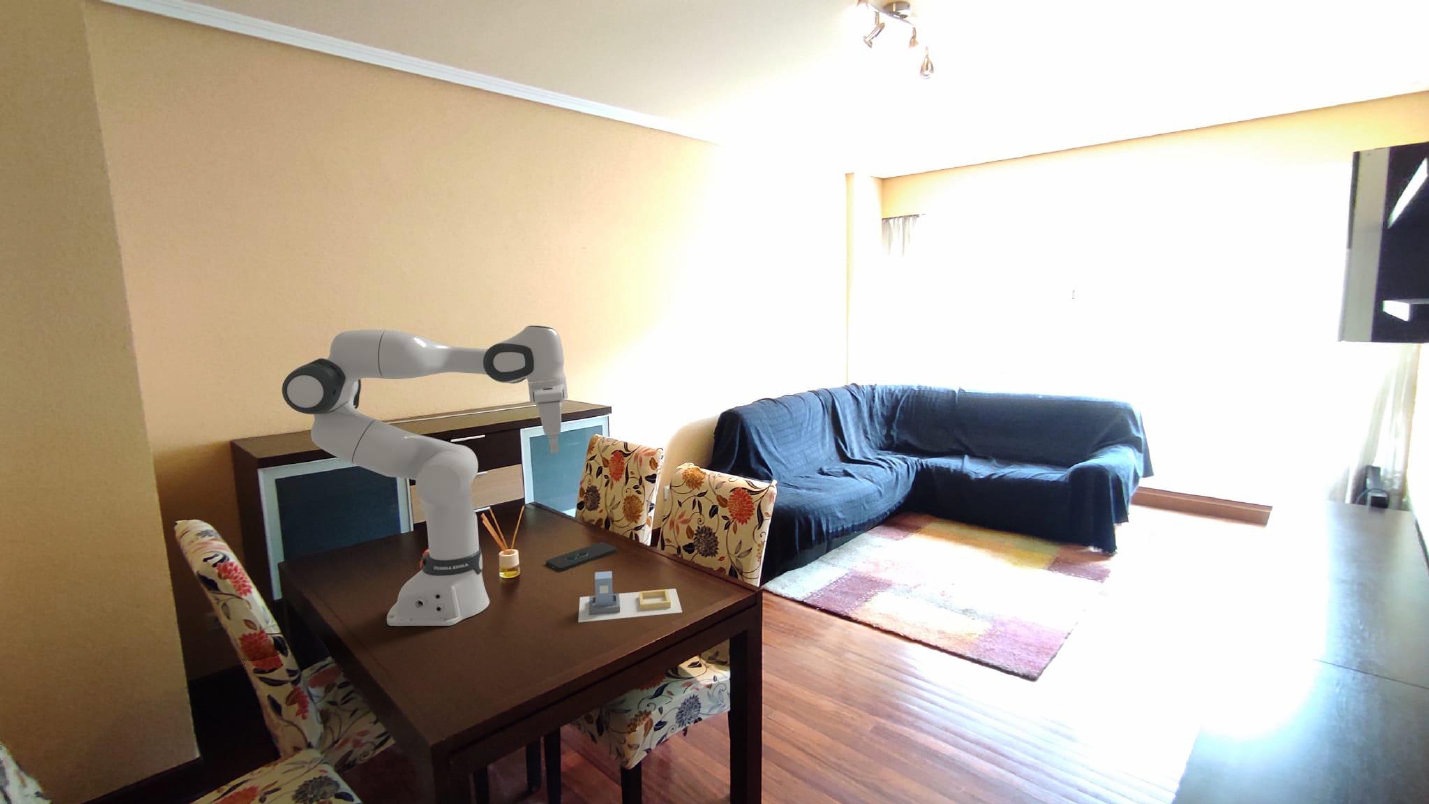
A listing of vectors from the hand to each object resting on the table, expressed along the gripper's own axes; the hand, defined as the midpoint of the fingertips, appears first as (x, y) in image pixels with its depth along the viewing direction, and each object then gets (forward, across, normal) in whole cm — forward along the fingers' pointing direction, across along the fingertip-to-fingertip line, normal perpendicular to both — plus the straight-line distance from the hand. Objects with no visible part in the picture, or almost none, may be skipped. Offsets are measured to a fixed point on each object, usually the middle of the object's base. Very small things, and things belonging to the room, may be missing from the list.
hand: (554, 450), depth 149 cm
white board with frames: (+40, +5, +14) cm, 42 cm away
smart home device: (+36, -30, +5) cm, 47 cm away
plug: (+38, +5, +8) cm, 40 cm away
